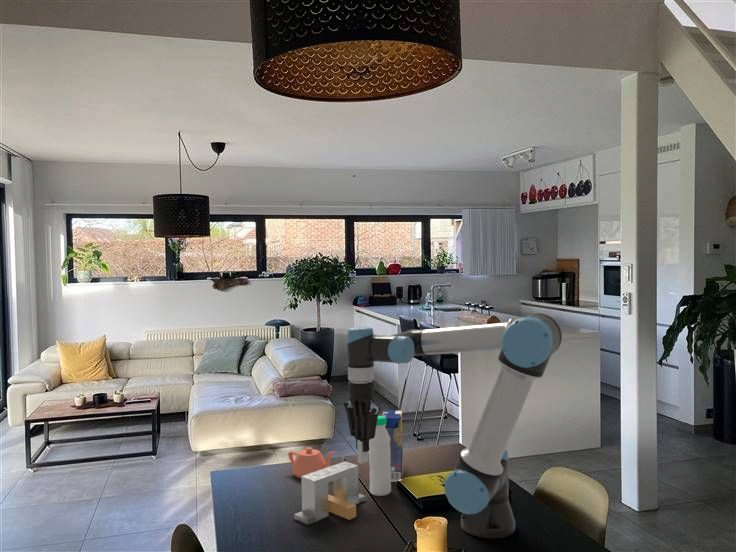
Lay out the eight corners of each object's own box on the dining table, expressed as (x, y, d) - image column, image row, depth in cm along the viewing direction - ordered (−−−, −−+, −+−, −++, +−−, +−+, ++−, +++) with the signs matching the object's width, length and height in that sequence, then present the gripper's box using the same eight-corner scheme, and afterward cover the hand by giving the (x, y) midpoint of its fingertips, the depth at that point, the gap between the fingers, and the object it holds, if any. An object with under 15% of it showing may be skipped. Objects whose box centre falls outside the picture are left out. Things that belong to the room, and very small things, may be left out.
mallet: (358, 515, 180) (358, 489, 180) (346, 521, 176) (346, 494, 176) (314, 497, 194) (314, 473, 194) (302, 502, 190) (302, 477, 190)
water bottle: (389, 497, 193) (388, 420, 193) (367, 496, 195) (366, 419, 194) (392, 489, 200) (391, 414, 199) (371, 487, 201) (370, 413, 201)
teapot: (295, 466, 224) (294, 441, 224) (340, 470, 219) (340, 444, 218) (281, 478, 212) (280, 451, 212) (329, 482, 207) (328, 455, 207)
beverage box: (403, 470, 217) (402, 410, 217) (402, 482, 206) (401, 418, 206) (384, 470, 218) (383, 410, 217) (382, 481, 207) (381, 418, 206)
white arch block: (365, 500, 191) (364, 463, 191) (307, 525, 174) (306, 484, 173) (352, 495, 195) (351, 458, 195) (294, 519, 178) (293, 479, 178)
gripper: (386, 381, 172) (388, 463, 172) (354, 376, 181) (356, 454, 181) (368, 385, 166) (370, 470, 167) (336, 380, 175) (338, 460, 176)
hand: (363, 461), depth 174 cm, fingers closed
